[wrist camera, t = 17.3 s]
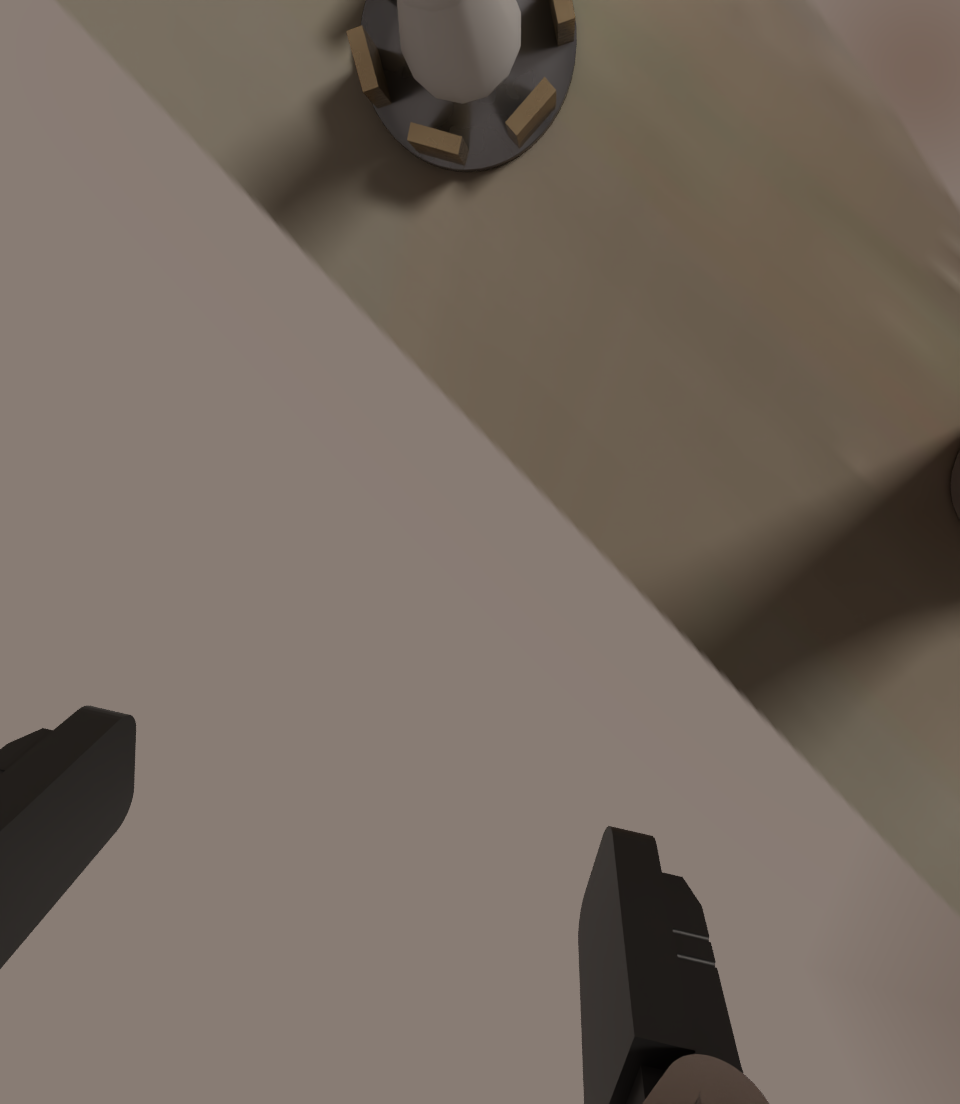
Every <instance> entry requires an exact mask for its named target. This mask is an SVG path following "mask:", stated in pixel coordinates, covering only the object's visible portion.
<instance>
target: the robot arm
mask: <svg viewBox="0 0 960 1104" xmlns="http://www.w3.org/2000/svg"><path fill="white" fill-rule="evenodd" d="M950 490H951V496H952V502H953V506H954V509H955V511H956V513H957V515H958V518H959V519H960V452H959V453H958V455H957V458H956V461H955V464H954V467H953V471H952V476H951V488H950ZM135 743H136V723H135V719H134V718H133V716H131V715H128V714H123V713H119V712H115V711H110V710H106V709H102V708H97V707H93V706H84V707H82V708H80V709H79V710H77V711H76V712H75V713H74V714H72V715H71V716H70V717H69V718H68V719H66V720H65V721H64V722H63V723H62V724H60V725H59V726H58V727H57V728H56V729H54V730H48V729H44V728H42V729H40V730H38V731H35V732H33V733H31V734H29V735H26V736H24V737H22V738H20V739H17V740H15V741H13V742H10V743H8V744H7V745H5V746H4V747H3V748H2V749H0V969H1V968H2V966H3V965H4V964H5V963H6V961H7V960H8V959H9V958H10V957H11V956H12V955H13V953H14V952H15V951H16V949H18V947H19V946H20V945H21V944H22V943H23V941H24V940H25V939H26V938H27V937H28V936H29V934H30V933H31V932H32V931H33V930H34V928H35V927H36V926H37V925H38V924H39V922H40V921H41V920H42V919H43V918H44V917H45V915H46V914H47V913H48V912H49V911H50V909H51V908H52V907H53V906H54V905H55V904H56V902H57V901H58V900H59V899H60V897H61V896H62V895H63V894H64V893H65V892H66V890H67V889H68V888H69V887H70V886H71V885H72V883H73V882H74V881H75V880H76V879H77V877H78V876H79V875H80V874H81V873H82V871H83V870H84V869H85V868H86V866H87V865H88V864H89V863H90V862H91V861H92V859H93V858H94V857H95V856H96V855H97V854H98V852H99V851H100V850H101V849H102V848H103V847H104V845H105V844H106V843H107V842H108V841H109V839H110V838H111V837H112V836H113V835H114V833H115V832H116V831H117V830H118V828H119V827H120V826H121V824H122V823H123V821H124V819H125V817H126V815H127V813H128V810H129V808H130V805H131V802H132V798H133V793H134V771H135ZM578 945H579V971H580V1000H581V1025H582V1026H581V1027H582V1055H583V1082H584V1104H769V1102H768V1101H767V1099H766V1098H765V1096H764V1095H763V1094H762V1092H761V1091H760V1090H759V1089H758V1088H757V1086H756V1085H755V1084H754V1083H753V1082H752V1081H751V1080H750V1079H749V1078H748V1077H747V1076H746V1075H744V1074H743V1071H742V1067H741V1064H740V1060H739V1056H738V1052H737V1048H736V1044H735V1039H734V1036H733V1031H732V1027H731V1024H730V1019H729V1015H728V1011H727V1007H726V1003H725V999H724V995H723V991H722V987H721V982H720V979H719V974H718V970H717V968H715V958H714V954H713V950H712V946H711V943H710V942H709V934H708V930H707V925H706V922H705V917H704V913H703V909H702V906H701V904H700V903H699V901H698V900H697V898H696V897H695V895H694V894H693V892H692V891H691V889H690V888H689V886H688V885H687V883H686V882H685V880H684V879H683V877H679V876H675V875H671V874H667V873H662V871H661V866H660V861H659V855H658V850H657V845H656V841H655V838H653V836H650V835H645V834H641V833H637V832H633V831H628V830H624V829H619V828H615V827H611V826H608V827H607V828H606V830H605V832H604V834H603V837H602V840H601V844H600V847H599V850H598V853H597V856H596V859H595V862H594V866H593V870H592V872H591V875H590V878H589V882H588V885H587V888H586V891H585V895H584V898H583V902H582V907H581V912H580V920H579V931H578Z"/></svg>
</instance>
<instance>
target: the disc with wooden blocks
mask: <svg viewBox="0 0 960 1104" xmlns="http://www.w3.org/2000/svg"><path fill="white" fill-rule="evenodd" d="M516 1H517V4H518V6H519V9H520V11H521V47H520V50H519V52H518V55H517V57H516V59H515V62H514V64H513V66H512V69H511V71H510V73H509V76H508V77H507V78H506V79H505V80H504V81H503V82H502V83H501V84H500V85H499V86H498V87H497V88H496V89H495V90H494V91H493V92H492V93H491V94H490V95H489V96H488V97H486V98H482V99H478V100H475V101H471V102H467V103H464V104H461V103H456V102H452V101H447V100H442V99H437V98H435V97H434V96H433V95H432V94H431V93H429V92H428V91H427V90H426V89H425V88H424V87H423V86H422V85H421V84H420V83H419V82H418V81H416V80H415V79H414V77H413V75H412V73H411V71H410V69H409V67H408V64H407V62H406V60H405V58H404V56H403V54H402V52H401V45H400V33H399V21H398V9H397V0H366V2H365V6H364V10H363V14H362V20H361V26H358V27H356V28H353V29H350V30H348V31H346V32H347V36H348V39H349V43H350V47H351V50H352V54H353V58H354V61H355V65H356V69H357V72H358V76H359V79H360V83H361V87H362V90H363V93H364V94H365V95H366V96H367V97H368V98H369V99H370V101H371V102H372V104H373V106H374V108H375V110H376V112H377V114H378V116H379V117H380V119H381V120H382V122H383V124H384V125H385V126H386V128H387V129H388V130H389V131H390V133H391V134H392V135H393V136H394V137H395V138H396V139H397V140H398V141H399V142H400V143H401V144H402V145H403V146H404V147H405V148H406V149H407V150H408V151H410V152H411V153H412V154H414V155H415V156H417V157H418V158H420V159H422V160H423V161H425V162H427V163H429V164H431V165H434V166H437V167H440V168H442V169H447V170H452V171H460V172H474V171H483V170H487V169H492V168H495V167H498V166H500V165H503V164H506V163H508V162H510V161H511V160H513V159H515V158H517V157H519V156H520V155H522V154H523V153H524V152H525V151H527V150H528V149H529V148H531V147H532V146H533V145H534V144H535V143H536V142H537V141H538V140H539V139H540V138H541V137H542V136H543V135H544V133H545V132H546V131H547V130H548V128H549V127H550V126H551V124H552V123H553V121H554V119H555V118H556V116H557V115H558V113H559V111H560V109H561V107H562V105H563V103H564V100H565V98H566V96H567V93H568V90H569V86H570V83H571V80H572V75H573V70H574V65H575V55H576V21H575V14H574V8H573V3H572V0H516Z"/></svg>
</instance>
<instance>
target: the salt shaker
mask: <svg viewBox="0 0 960 1104" xmlns="http://www.w3.org/2000/svg"><path fill="white" fill-rule="evenodd" d="M397 9H398V21H399V33H400V45H401V52H402V54H403V56H404V58H405V60H406V62H407V64H408V67H409V69H410V71H411V73H412V75H413V77H414V79H415V80H416V81H418V82H419V83H420V84H421V85H422V86H423V87H424V88H425V89H426V90H427V91H428V92H429V93H431V94H432V95H433V96H434V97H435V98H437V99H442V100H447V101H452V102H456V103H461V104H464V103H467V102H471V101H475V100H478V99H482V98H486V97H488V96H489V95H490V94H491V93H492V92H493V91H494V90H495V89H496V88H497V87H498V86H499V85H500V84H501V83H502V82H503V81H504V80H505V79H506V78H507V77H508V76H509V73H510V71H511V69H512V66H513V64H514V62H515V59H516V57H517V55H518V52H519V50H520V47H521V11H520V9H519V6H518V4H517V1H516V0H397Z"/></svg>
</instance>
